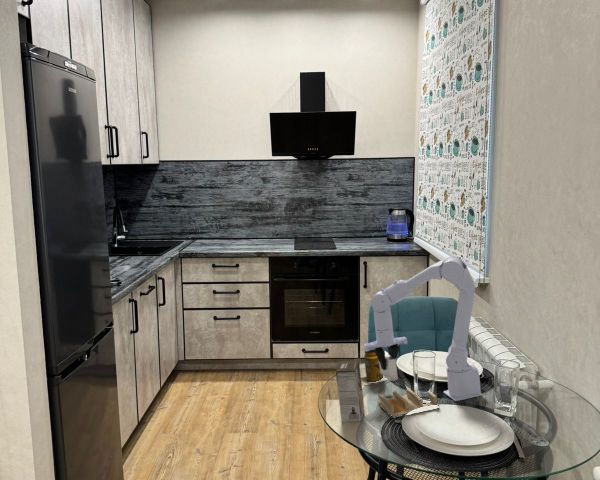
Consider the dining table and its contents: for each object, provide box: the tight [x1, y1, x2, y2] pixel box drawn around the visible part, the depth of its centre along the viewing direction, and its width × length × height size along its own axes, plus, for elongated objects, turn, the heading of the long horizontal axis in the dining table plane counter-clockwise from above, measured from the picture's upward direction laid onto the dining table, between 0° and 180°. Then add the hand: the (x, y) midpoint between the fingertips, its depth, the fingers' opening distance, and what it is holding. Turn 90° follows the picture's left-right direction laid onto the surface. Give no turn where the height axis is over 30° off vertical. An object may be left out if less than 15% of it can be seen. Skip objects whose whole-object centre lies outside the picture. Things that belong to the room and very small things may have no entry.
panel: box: [379, 350, 399, 382], centre depth 184 cm, size 2×9×7 cm, turn 13°
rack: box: [377, 388, 438, 416], centre depth 174 cm, size 15×12×4 cm
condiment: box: [361, 350, 384, 386], centre depth 198 cm, size 7×8×12 cm
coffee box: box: [335, 359, 365, 423], centre depth 171 cm, size 9×6×16 cm
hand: (388, 368), depth 184 cm, fingers closed on panel, 2 cm apart
